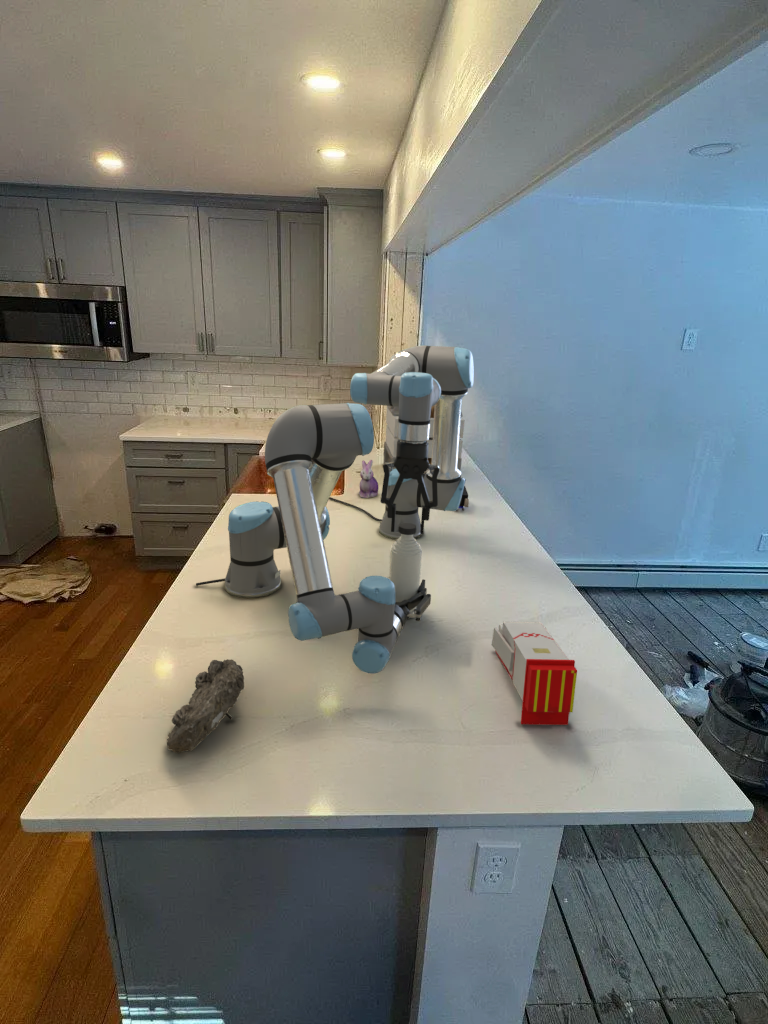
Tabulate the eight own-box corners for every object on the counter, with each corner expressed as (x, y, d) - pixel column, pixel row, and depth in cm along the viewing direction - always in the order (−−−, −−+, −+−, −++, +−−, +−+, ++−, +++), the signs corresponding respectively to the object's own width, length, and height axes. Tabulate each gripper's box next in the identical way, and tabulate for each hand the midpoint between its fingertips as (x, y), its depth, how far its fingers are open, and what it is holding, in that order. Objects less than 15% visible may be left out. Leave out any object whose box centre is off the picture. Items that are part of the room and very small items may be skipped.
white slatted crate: (382, 463, 289) (386, 382, 275) (445, 464, 293) (451, 384, 279) (390, 482, 257) (394, 392, 243) (460, 483, 261) (468, 394, 247)
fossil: (192, 660, 117) (244, 628, 112) (224, 691, 120) (276, 661, 115) (142, 746, 98) (202, 712, 93) (182, 779, 101) (242, 748, 96)
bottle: (419, 606, 152) (425, 525, 144) (414, 620, 145) (420, 536, 137) (391, 601, 154) (395, 521, 146) (384, 615, 146) (388, 532, 138)
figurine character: (468, 516, 224) (463, 500, 237) (471, 498, 221) (465, 483, 234) (452, 515, 224) (447, 499, 237) (453, 498, 220) (449, 482, 234)
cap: (405, 527, 144) (405, 521, 144) (419, 531, 142) (419, 525, 141) (395, 531, 141) (395, 525, 141) (409, 536, 139) (409, 530, 138)
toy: (538, 606, 134) (586, 666, 105) (533, 659, 137) (578, 731, 108) (487, 605, 134) (521, 665, 105) (483, 658, 137) (515, 730, 107)
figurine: (363, 499, 233) (364, 464, 228) (353, 492, 242) (354, 458, 236) (383, 497, 237) (385, 462, 232) (373, 490, 246) (374, 456, 241)
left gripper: (343, 630, 134) (370, 588, 155) (429, 646, 130) (445, 600, 150) (343, 602, 132) (371, 563, 152) (431, 617, 127) (447, 574, 148)
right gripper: (454, 439, 136) (446, 528, 144) (373, 434, 138) (370, 522, 146) (454, 446, 129) (446, 539, 137) (370, 441, 131) (366, 533, 139)
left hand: (407, 581), depth 151 cm, fingers closed on bottle, 8 cm apart
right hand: (407, 530), depth 141 cm, fingers open, 7 cm apart
